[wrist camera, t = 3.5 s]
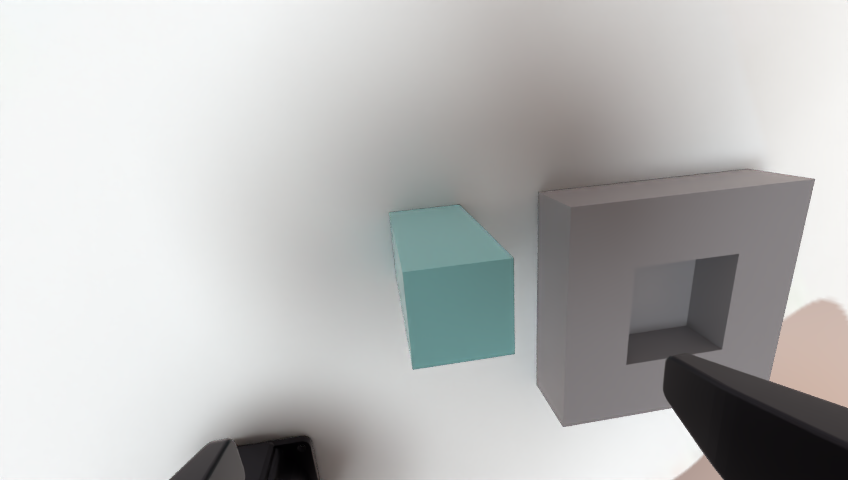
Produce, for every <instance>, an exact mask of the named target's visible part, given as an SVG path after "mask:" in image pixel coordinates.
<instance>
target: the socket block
mask: <svg viewBox="0 0 848 480" xmlns="http://www.w3.org/2000/svg"><path fill="white" fill-rule="evenodd" d="M814 181H815V179H812V178H805V177H798V176H792V175H785V174H778V173H772V172H765V171H758V170H751V169H743V170H734V171H725V172H716V173H706V174H697V175H688V176H679V177H670V178H661V179H652V180H643V181H634V182H625V183H616V184H607V185H598V186H589V187H580V188H571V189H562V190H553V191H544V192H539V195H538V301H537V386H538V388H539V389H540V391H541V392H542V394H543V396H544V397H545V399H546V400H547V402H548V404H549V405H550V407H551V408H552V410H553V412H554V413H555V415H556V416H557V418H558V420H559V421H560V423H561V424H562V426H563V427H566V426H572V425H578V424H583V423H589V422H595V421H601V420H606V419H612V418H618V417H623V416H629V415H635V414H641V413H646V412H652V411H658V410H664V409H669V408H672V407H671V406H670V404H669V403H668V401H667V400H666V398H665V396H664V393H663V377H664V367H665V360H666V359H667V357H669V356H671V355H677V354H682V353H688V354H692V355H695V356H698V357H701V358H703V359H706V360H709V361H712V362H715V363H718V364H721V365H724V366H727V367H730V368H733V369H736V370H738V371H741V372H744V373H747V374H750V375H753V376H756V377H759V378H762V379H765V380H768V381H769V379H770V374H771V370H772V366H773V361H774V357H775V353H776V348H777V344H778V339H779V335H780V330H781V326H782V322H783V317H784V313H785V309H786V304H787V300H788V295H789V291H790V287H791V282H792V278H793V274H794V269H795V265H796V260H797V256H798V252H799V247H800V243H801V238H802V234H803V230H804V225H805V221H806V216H807V212H808V208H809V203H810V199H811V194H812V190H813V186H814Z"/></svg>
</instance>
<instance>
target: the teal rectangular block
mask: <svg viewBox="0 0 848 480" xmlns="http://www.w3.org/2000/svg"><path fill="white" fill-rule="evenodd" d="M389 216H390V225H391V234H392V243H393V252H394V261H395V270H396V279H397V284H398V290H399V295H400V301H401V307H402V312H403V318H404V323H405V329H406V335H407V340H408V346H409V351H410V357H411V362H412V368H413V370H414V369H420V368H427V367H433V366H440V365H446V364H453V363H460V362H466V361H473V360H479V359H486V358H492V357H499V356H505V355H512V354H515V335H514V258H513V257H512V256H511V255H510V254H509V253H508V252H507V251H506V250H505V249H504V248H503V247H502V246H501V245H500V244H499V243H498V242H497V241H496V240H495V239H494V238H493V237H492V236H491V235H490V234H489V233H488V232H487V231H486V230H485V229H484V228H483V227H482V226H481V225H480V224H479V223H478V222H477V221H476V220H475V219H474V218H473V217H472V216H470V215H469V214H468V213H467V212H466V211H465V210H464V209H463V208H462V207H461V206H460V205H450V206H441V207H432V208H423V209H414V210H405V211H396V212H389Z"/></svg>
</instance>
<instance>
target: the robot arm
mask: <svg viewBox="0 0 848 480" xmlns="http://www.w3.org/2000/svg"><path fill="white" fill-rule="evenodd" d="M663 393H664V396H665V398H666V400H667V401H668V403H669V404H670V406H671V407H672V409H673V410H674V411H675V413H676V414H677V416H678V417H679V419H680V420H681V422H682V423H683V424H684V426H685V427H686V429H687V430H688V432H689V433H690V435H691V436H692V437H693V439H694V440H695V442H696V443H697V445H698V446H699V447H700V449H701V450H702V452H703V453H704V455H705V456H706V457H707V459H708V460H709V462H710V463H711V464H712V466H713V467H714V468H715V469H716V471H717V472H718V473H719V475H721V477H722V478H723V479H724V480H848V408H846V407H843V406H840V405H837V404H835V403H832V402H829V401H826V400H823V399H820V398H817V397H814V396H811V395H809V394H806V393H803V392H800V391H797V390H794V389H791V388H788V387H785V386H782V385H779V384H776V383H773V382H771V381H768V380H765V379H762V378H759V377H756V376H753V375H750V374H747V373H744V372H741V371H738V370H736V369H733V368H730V367H727V366H724V365H721V364H718V363H715V362H712V361H709V360H706V359H703V358H701V357H698V356H695V355H692V354H688V353H682V354H677V355H671V356H669V357H667V359H666V360H665V367H664V377H663ZM300 445H305V446H300ZM169 480H320V478H319V473H318V468H317V464H316V459H315V454H314V450H313V445H312V441H311V439H310V438H309V437H307V436H298V437H292V438H286V439H280V440H274V441H268V442H262V443H256V444H250V445H244V446H238V447H237V446H236V444H235V442H234V440H233V439H231V438H227V439H221V440H216V441H212V442H209V443H208V444H207V445H205V446H204V447H203V448H202V449H201V450H200V451H199V452H198V453H197V454H196V455H195V456H194V457H193V458H192V459H191V460H190V461H188V462H187V463H186V464H185V465H184V466H183V467H182V468H181V469H180V470H179V471H178V472H177V473H176V474H175V475H174V476H173V477H172V478H170V479H169Z"/></svg>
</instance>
